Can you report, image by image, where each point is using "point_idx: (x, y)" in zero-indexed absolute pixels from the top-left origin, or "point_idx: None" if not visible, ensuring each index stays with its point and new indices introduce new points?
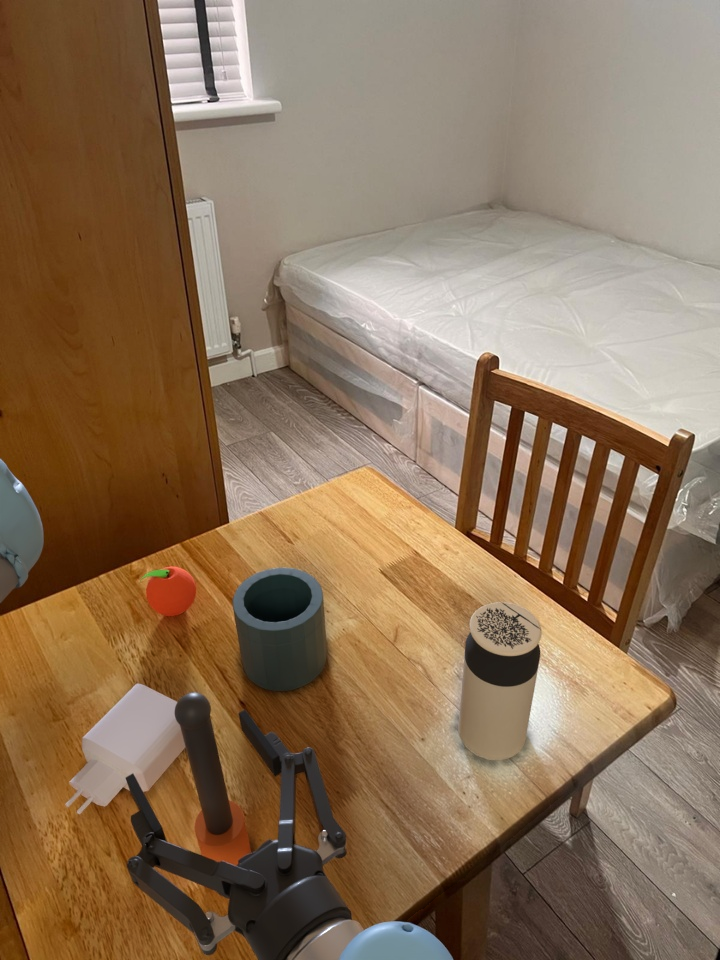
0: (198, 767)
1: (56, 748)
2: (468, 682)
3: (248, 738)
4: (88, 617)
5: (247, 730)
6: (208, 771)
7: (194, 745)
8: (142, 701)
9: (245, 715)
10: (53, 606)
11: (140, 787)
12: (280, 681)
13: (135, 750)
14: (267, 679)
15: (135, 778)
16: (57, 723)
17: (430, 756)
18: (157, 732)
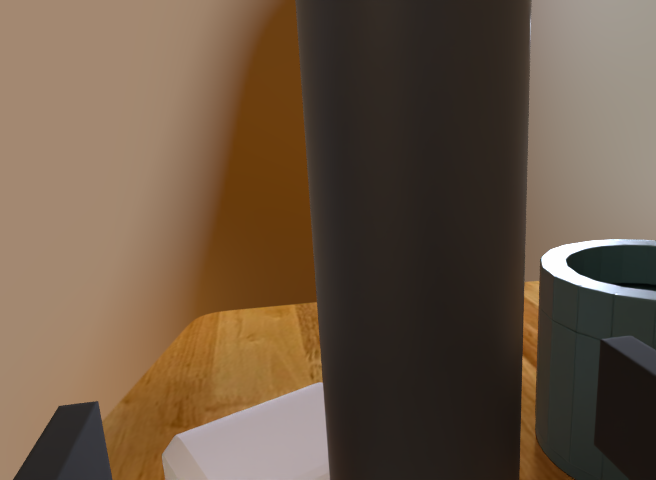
0: (363, 363)
1: (145, 465)
2: None
3: (635, 474)
4: (293, 326)
5: (644, 418)
6: (431, 432)
7: (359, 65)
8: (313, 407)
9: (637, 349)
10: (257, 310)
11: (70, 455)
12: None
13: None
14: (604, 458)
15: (86, 418)
16: (173, 430)
17: None
18: (318, 467)
